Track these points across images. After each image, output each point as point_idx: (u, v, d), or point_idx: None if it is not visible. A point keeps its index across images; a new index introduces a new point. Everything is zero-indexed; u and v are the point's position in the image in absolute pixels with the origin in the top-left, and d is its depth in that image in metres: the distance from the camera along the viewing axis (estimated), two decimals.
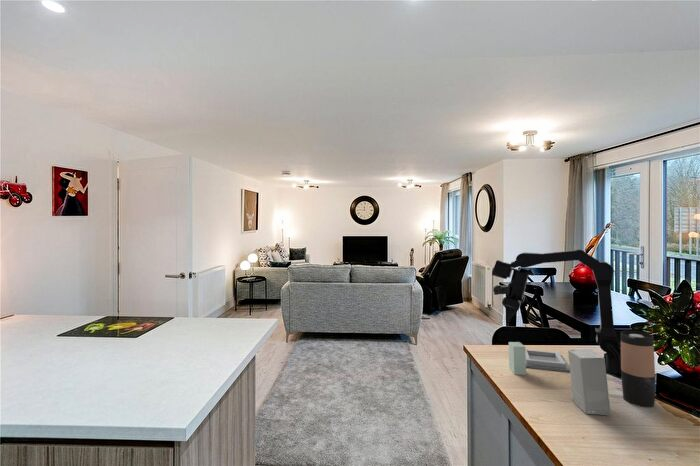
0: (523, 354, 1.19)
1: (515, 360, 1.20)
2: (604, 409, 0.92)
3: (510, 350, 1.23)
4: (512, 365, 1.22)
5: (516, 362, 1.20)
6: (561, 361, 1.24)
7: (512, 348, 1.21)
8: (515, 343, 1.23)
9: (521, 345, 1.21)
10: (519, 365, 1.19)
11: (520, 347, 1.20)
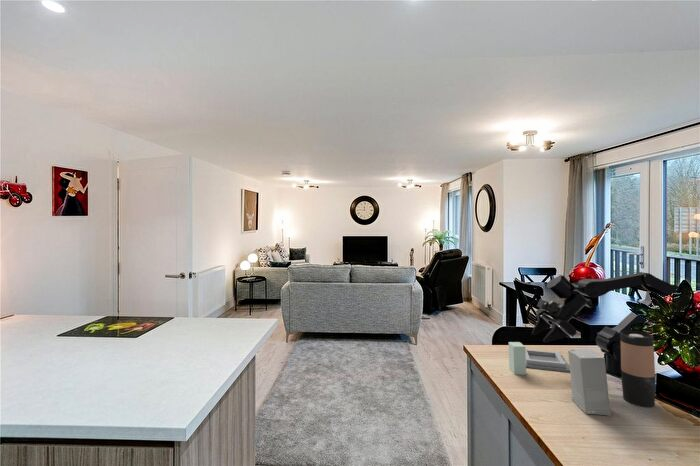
0: (523, 354, 1.19)
1: (515, 360, 1.20)
2: (604, 409, 0.92)
3: (510, 350, 1.23)
4: (512, 365, 1.22)
5: (516, 362, 1.20)
6: (561, 361, 1.24)
7: (512, 348, 1.21)
8: (515, 343, 1.23)
9: (521, 345, 1.21)
10: (519, 365, 1.19)
11: (520, 347, 1.20)
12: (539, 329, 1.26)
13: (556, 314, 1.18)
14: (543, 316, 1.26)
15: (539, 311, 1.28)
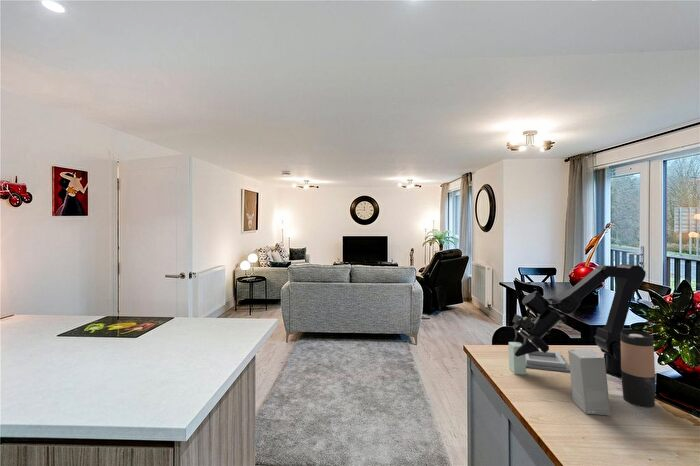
0: None
1: (515, 360, 1.20)
2: (604, 409, 0.92)
3: (510, 350, 1.23)
4: (512, 365, 1.22)
5: (516, 362, 1.20)
6: (561, 361, 1.24)
7: (512, 348, 1.21)
8: (515, 343, 1.23)
9: None
10: (519, 365, 1.19)
11: None
12: None
13: (530, 330, 1.19)
14: (521, 332, 1.25)
15: (515, 326, 1.29)
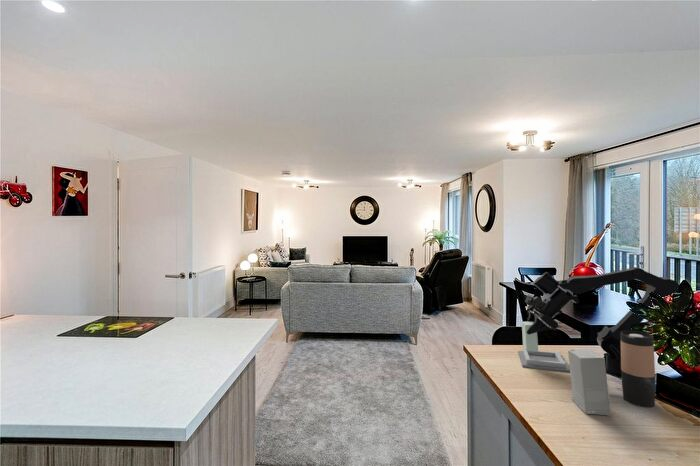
0: None
1: (527, 338, 1.26)
2: (604, 409, 0.92)
3: (523, 329, 1.29)
4: (524, 343, 1.28)
5: (528, 340, 1.26)
6: (561, 361, 1.24)
7: (524, 327, 1.27)
8: (527, 322, 1.29)
9: None
10: (531, 343, 1.26)
11: None
12: None
13: (541, 309, 1.24)
14: (534, 312, 1.31)
15: (529, 307, 1.34)
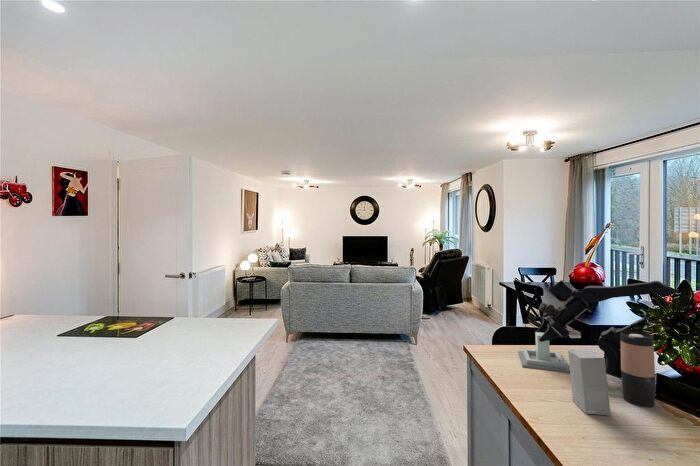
0: (547, 343, 1.27)
1: (539, 348, 1.28)
2: (604, 409, 0.92)
3: (536, 339, 1.32)
4: (537, 353, 1.31)
5: (540, 350, 1.28)
6: (561, 361, 1.24)
7: (536, 337, 1.30)
8: (541, 333, 1.31)
9: None
10: (543, 354, 1.28)
11: None
12: (543, 330, 1.34)
13: (554, 316, 1.26)
14: (548, 319, 1.34)
15: (545, 313, 1.36)
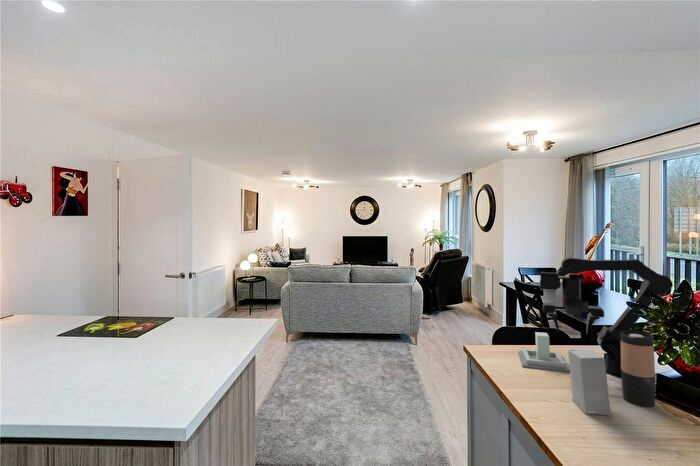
0: (547, 343, 1.27)
1: (539, 348, 1.28)
2: (604, 409, 0.92)
3: (536, 339, 1.32)
4: (537, 353, 1.30)
5: (540, 350, 1.28)
6: (561, 361, 1.24)
7: (536, 337, 1.30)
8: (541, 333, 1.31)
9: (546, 335, 1.29)
10: (543, 354, 1.28)
11: (544, 337, 1.28)
12: (557, 323, 1.27)
13: None
14: (555, 311, 1.26)
15: (551, 310, 1.25)
